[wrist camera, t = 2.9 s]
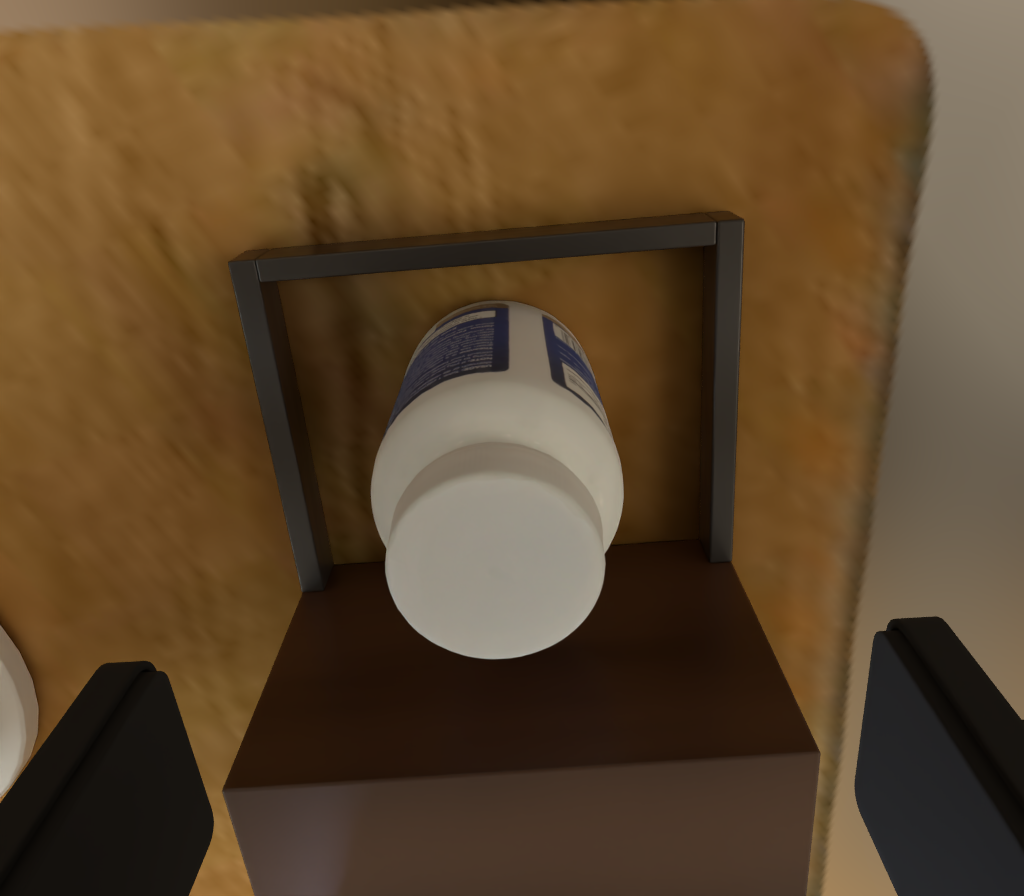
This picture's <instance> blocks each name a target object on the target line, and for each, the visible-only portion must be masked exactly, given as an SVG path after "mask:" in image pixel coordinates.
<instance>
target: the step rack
mask: <svg viewBox="0 0 1024 896" xmlns="http://www.w3.org/2000/svg"><path fill="white" fill-rule="evenodd" d="M744 225H745V221H744V219H742V218H741V217H739V216H737V215H735V214H733V213H732V212H730V211H721V212H709V213H706V214H704V213H695V214H683V215H671V216H659V217H647V218H635V219H623V220H611V221H599V222H587V223H575V224H563V225H551V226H539V227H527V228H515V229H503V230H491V231H479V232H467V233H455V234H443V235H431V236H419V237H407V238H395V239H383V240H371V241H359V242H347V243H335V244H323V245H311V246H299V247H287V248H275V249H271V250H269V249H263V250H251V251H245V252H243V253H242V254H240V255H239V256H237V257H235V258H234V259H232V260H231V261H229V262H228V265H229V270H230V274H231V279H232V283H233V287H234V292H235V296H236V301H237V305H238V310H239V314H240V319H241V323H242V327H243V332H244V336H245V341H246V345H247V350H248V354H249V359H250V363H251V368H252V372H253V376H254V381H255V385H256V390H257V394H258V399H259V403H260V408H261V412H262V416H263V421H264V425H265V430H266V434H267V439H268V443H269V448H270V452H271V457H272V461H273V465H274V470H275V474H276V479H277V483H278V488H279V492H280V497H281V501H282V505H283V510H284V514H285V519H286V523H287V528H288V532H289V537H290V541H291V545H292V550H293V554H294V559H295V563H296V568H297V572H298V577H299V581H300V586H301V590H302V592H303V593H302V596H301V598H300V601H299V603H298V606H297V608H296V611H295V613H294V616H293V618H292V620H291V623H290V625H289V628H288V630H287V633H286V635H285V638H284V640H283V643H282V645H281V647H280V650H279V652H278V655H277V657H276V660H275V662H274V665H273V667H272V670H271V672H270V674H269V677H268V679H267V682H266V684H265V687H264V689H263V692H262V694H261V697H260V699H259V701H258V704H257V706H256V709H255V711H254V714H253V716H252V719H251V721H250V724H249V726H248V728H247V731H246V733H245V736H244V738H243V741H242V743H241V746H240V748H239V751H238V753H237V755H236V758H235V760H234V763H233V765H232V768H231V770H230V773H229V775H228V778H227V780H226V782H225V785H224V787H223V790H222V792H223V796H224V799H225V802H226V805H227V808H228V812H229V815H230V818H231V821H232V825H233V828H234V831H235V834H236V837H237V841H238V844H239V847H240V850H241V853H242V857H243V860H244V863H245V866H246V869H247V873H248V876H249V879H250V882H251V886H252V889H253V892H254V895H255V896H806V891H807V881H808V872H809V862H810V852H811V842H812V832H813V822H814V813H815V803H816V793H817V783H818V773H819V763H820V751H819V749H818V747H817V745H816V743H815V740H814V738H813V736H812V734H811V732H810V730H809V728H808V725H807V723H806V721H805V719H804V717H803V715H802V713H801V710H800V708H799V706H798V704H797V702H796V700H795V698H794V695H793V693H792V691H791V689H790V687H789V685H788V683H787V680H786V678H785V676H784V674H783V672H782V670H781V668H780V665H779V663H778V661H777V659H776V657H775V655H774V653H773V650H772V648H771V646H770V644H769V642H768V640H767V638H766V635H765V633H764V631H763V629H762V627H761V625H760V623H759V620H758V618H757V616H756V614H755V612H754V610H753V608H752V605H751V603H750V601H749V599H748V597H747V595H746V592H745V590H744V588H743V586H742V584H741V582H740V580H739V577H738V575H737V573H736V571H735V569H734V567H733V565H732V562H731V561H732V549H733V522H734V495H735V468H736V441H737V414H738V387H739V360H740V333H741V306H742V279H743V252H744ZM700 246H704V272H703V331H702V390H701V449H700V508H699V539H700V540H686V541H672V542H658V543H644V544H630V545H616V546H609V548H608V550H607V551H606V553H605V554H604V555H605V563H606V564H605V574H604V581H603V585H602V589H601V592H600V595H599V597H598V599H597V601H596V603H595V605H594V607H593V609H592V610H591V612H590V613H589V615H588V616H587V617H586V619H585V620H584V621H583V622H582V623H581V624H580V626H578V627H577V628H576V629H575V630H574V631H573V632H572V633H571V634H569V635H568V636H567V637H565V638H564V639H563V640H561V641H559V642H558V643H556V644H554V645H552V646H550V647H548V648H545V649H543V650H541V651H538V652H535V653H532V654H529V655H524V656H522V657H515V658H507V659H483V658H475V657H469V656H465V655H461V654H458V653H455V652H452V651H449V650H447V649H445V648H443V647H440V646H438V645H436V644H435V643H433V642H431V641H429V640H428V639H427V638H425V637H424V636H423V635H421V634H420V633H418V632H417V631H416V630H415V629H414V628H413V627H412V626H411V625H410V624H409V623H408V622H407V620H406V619H405V617H404V616H403V615H402V614H401V612H400V611H399V610H398V608H397V606H396V604H395V602H394V600H393V598H392V595H391V593H390V590H389V587H388V583H387V578H386V573H385V562H377V563H363V564H349V565H335V566H333V565H334V563H333V558H332V553H331V548H330V544H329V539H328V534H327V529H326V524H325V519H324V514H323V509H322V504H321V499H320V494H319V489H318V484H317V479H316V474H315V469H314V464H313V459H312V454H311V449H310V445H309V440H308V435H307V430H306V425H305V420H304V415H303V410H302V405H301V400H300V395H299V390H298V385H297V380H296V375H295V370H294V365H293V360H292V355H291V350H290V346H289V341H288V336H287V331H286V326H285V321H284V316H283V311H282V306H281V301H280V296H279V291H278V286H277V281H286V280H298V279H310V278H323V277H335V276H347V275H359V274H371V273H384V272H396V271H408V270H420V269H432V268H444V267H457V266H469V265H481V264H493V263H505V262H517V261H530V260H542V259H554V258H566V257H578V256H590V255H603V254H615V253H627V252H639V251H651V250H664V249H676V248H688V247H700Z"/></svg>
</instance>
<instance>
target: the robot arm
mask: <svg viewBox="0 0 1024 896" xmlns="http://www.w3.org/2000/svg"><path fill="white" fill-rule="evenodd" d="M38 713H39V707H38V702H37V698H36V693H35V689H34V684H33V680H32V678H31V675H30V673H29V671H28V669H27V667H26V665H25V662H24V660H23V658H22V656H21V654H20V652H19V650H18V649H17V647H16V646H15V645H14V643H13V642H12V640H11V639H10V638H9V636H8V635H7V633H6V632H5V631H4V629H3V628H2V626H1V625H0V798H1V797H2V795H3V794H4V793H5V792H6V791H7V790H8V789H9V787H10V786H11V785H12V784H13V782H14V781H15V779H16V778H17V776H18V775H19V773H20V772H21V770H22V769H23V767H24V766H25V764H26V763H27V761H28V760H29V758H30V757H31V753H32V750H33V747H34V744H35V741H36V738H37V734H38ZM855 796H856V801H857V805H858V808H859V811H860V814H861V816H862V818H863V820H864V823H865V825H866V827H867V829H868V831H869V833H870V836H871V838H872V840H873V842H874V844H875V847H876V849H877V851H878V853H879V855H880V858H881V860H882V862H883V864H884V866H885V869H886V871H887V872H888V875H889V877H890V880H891V882H892V884H893V886H894V888H895V891H896V893H897V895H898V896H1024V720H1021V718H1020V717H1019V716H1018V715H1017V713H1016V712H1015V711H1014V709H1013V708H1012V707H1011V706H1010V704H1009V703H1008V702H1007V700H1006V699H1005V698H1004V697H1003V695H1002V694H1001V693H1000V691H999V690H998V689H997V687H996V686H995V685H994V684H993V682H992V681H991V680H990V678H989V677H988V676H987V675H986V673H985V672H984V671H983V669H982V668H981V667H980V666H979V664H978V663H977V662H976V661H975V659H974V658H973V657H972V655H971V654H970V653H969V651H968V650H967V649H966V647H965V646H964V645H963V644H962V642H961V641H960V640H959V639H958V637H957V636H956V635H955V633H954V632H953V631H952V629H951V628H950V627H949V625H948V624H947V623H946V622H945V621H944V620H943V619H942V618H939V617H921V618H901V619H893V620H891V621H890V622H889V624H888V625H887V630H886V631H879V632H876V634H875V636H874V640H873V647H872V654H871V662H870V670H869V678H868V685H867V692H866V700H865V708H864V715H863V722H862V730H861V738H860V745H859V753H858V760H857V768H856V775H855ZM213 827H214V818H213V812H212V809H211V806H210V803H209V800H208V797H207V794H206V790H205V787H204V784H203V781H202V778H201V775H200V772H199V769H198V766H197V763H196V760H195V757H194V754H193V751H192V748H191V745H190V742H189V739H188V736H187V733H186V730H185V727H184V723H183V720H182V717H181V714H180V711H179V708H178V705H177V702H176V699H175V696H174V693H173V690H172V687H171V684H170V681H169V678H168V676H167V674H165V673H164V672H162V671H157V670H156V668H155V666H154V665H153V664H152V663H151V662H148V661H136V662H119V663H106V664H104V665H101V666H100V667H99V668H98V669H97V670H96V672H95V673H94V674H93V676H92V677H91V678H90V680H89V681H88V683H87V684H86V685H85V687H84V688H83V689H82V691H81V692H80V694H79V695H78V696H77V698H76V699H75V701H74V702H73V703H72V705H71V706H70V707H69V709H68V710H67V712H66V713H65V714H64V716H63V717H62V719H61V720H60V721H59V723H58V724H57V725H56V727H55V728H54V730H53V731H52V732H51V734H50V735H49V736H48V738H47V739H46V741H45V742H44V743H43V745H42V746H41V748H40V749H39V750H38V752H37V753H36V754H35V756H34V757H33V759H32V760H31V761H30V763H29V764H28V766H27V767H26V768H25V770H24V771H23V772H22V774H21V775H20V777H19V778H18V779H17V781H16V782H15V783H14V785H13V786H12V788H11V789H10V790H9V792H8V793H7V795H6V796H5V797H4V799H3V800H2V801H1V803H0V896H189V893H190V891H191V889H192V886H193V884H194V881H195V879H196V876H197V874H198V872H199V869H200V867H201V864H202V862H203V859H204V857H205V855H206V852H207V850H208V847H209V845H210V842H211V839H212V834H213Z"/></svg>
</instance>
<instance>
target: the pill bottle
mask: <svg viewBox="0 0 1024 896" xmlns="http://www.w3.org/2000/svg"><path fill="white" fill-rule="evenodd" d="M623 500H624V486H623V475H622V469H621V462H620V458H619V455H618V452H617V449H616V446H615V443H614V440H613V436H612V433H611V430H610V427H609V423H608V419H607V416H606V413H605V410H604V407H603V404H602V401H601V398H600V394H599V391H598V387H597V384H596V381H595V376H594V373H593V371H592V368H591V365H590V363H589V360H588V358H587V356H586V354H585V352H584V350H583V348H582V347H581V345H580V343H579V342H578V340H577V339H576V338H575V336H574V335H573V334H572V333H571V332H570V330H569V329H568V328H567V327H566V326H565V325H564V324H562V323H561V322H560V321H559V320H557V319H556V318H555V317H554V316H552V315H551V314H549V313H547V312H546V311H543V310H541V309H538V308H536V307H533V306H530V305H526V304H522V303H518V302H514V301H483V302H477V303H474V304H470V305H467V306H465V307H462V308H459V309H457V310H455V311H453V312H451V313H450V314H448V315H447V316H445V317H444V318H442V319H441V320H440V321H438V322H437V323H436V324H435V325H434V326H433V327H432V328H431V329H430V330H429V331H428V332H427V334H426V335H425V336H424V338H423V339H422V340H421V342H420V343H419V345H418V347H417V348H416V350H415V352H414V354H413V356H412V358H411V360H410V363H409V365H408V367H407V370H406V373H405V376H404V380H403V383H402V386H401V389H400V392H399V394H398V397H397V400H396V402H395V405H394V408H393V411H392V414H391V417H390V419H389V422H388V425H387V427H386V431H385V433H384V436H383V439H382V442H381V445H380V448H379V450H378V453H377V456H376V460H375V464H374V469H373V475H372V481H371V503H372V511H373V516H374V520H375V523H376V526H377V529H378V532H379V535H380V537H381V539H382V541H383V543H384V545H385V547H386V548H387V550H386V559H385V573H386V578H387V583H388V587H389V590H390V593H391V595H392V598H393V600H394V602H395V604H396V606H397V608H398V610H399V611H400V612H401V614H402V615H403V616H404V617H405V619H406V620H407V622H408V623H409V624H410V625H411V626H412V627H413V628H414V629H415V630H416V631H417V632H418V633H420V634H421V635H423V636H424V637H425V638H427V639H428V640H429V641H431V642H433V643H435V644H436V645H438V646H440V647H443V648H445V649H447V650H449V651H452V652H455V653H458V654H461V655H465V656H469V657H475V658H483V659H507V658H515V657H522V656H524V655H529V654H532V653H535V652H538V651H541V650H543V649H545V648H548V647H550V646H552V645H554V644H556V643H558V642H559V641H561V640H563V639H564V638H565V637H567V636H568V635H569V634H571V633H572V632H573V631H574V630H575V629H576V628H577V627H578V626H580V624H581V623H582V622H583V621H584V620H585V619H586V617H587V616H588V615H589V613H590V612H591V610H592V609H593V607H594V605H595V603H596V601H597V599H598V597H599V595H600V592H601V589H602V585H603V581H604V574H605V564H606V563H605V555H604V554H605V553H606V551H607V550H608V548H609V546H610V544H611V542H612V540H613V538H614V536H615V533H616V531H617V528H618V525H619V521H620V518H621V514H622V507H623Z"/></svg>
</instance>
